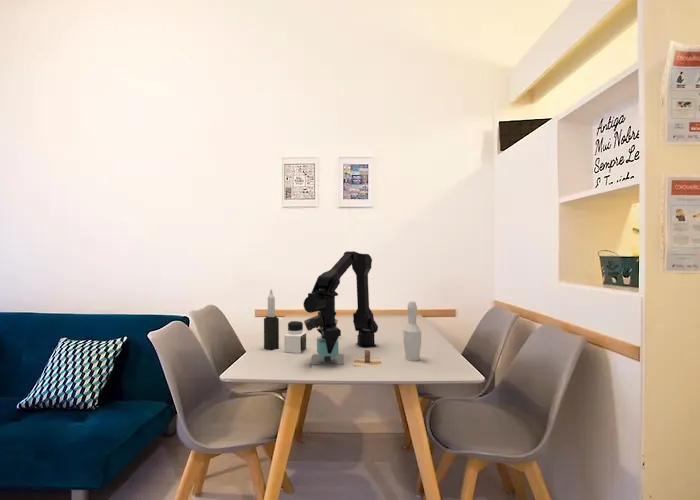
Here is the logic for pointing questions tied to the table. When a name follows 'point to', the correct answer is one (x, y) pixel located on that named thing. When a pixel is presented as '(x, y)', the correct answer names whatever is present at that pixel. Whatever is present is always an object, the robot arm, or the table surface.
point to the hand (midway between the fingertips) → (327, 350)
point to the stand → (367, 360)
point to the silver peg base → (327, 360)
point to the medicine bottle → (295, 338)
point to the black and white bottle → (271, 326)
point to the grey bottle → (412, 334)
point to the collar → (323, 348)
